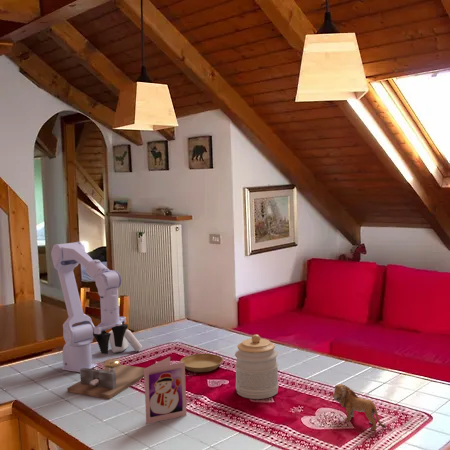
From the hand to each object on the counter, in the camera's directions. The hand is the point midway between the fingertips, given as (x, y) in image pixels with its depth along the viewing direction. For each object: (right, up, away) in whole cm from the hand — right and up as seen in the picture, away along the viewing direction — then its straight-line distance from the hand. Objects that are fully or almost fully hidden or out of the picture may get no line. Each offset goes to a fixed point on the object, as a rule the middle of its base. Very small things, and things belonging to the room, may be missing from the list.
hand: (111, 350), depth 181 cm
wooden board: (0, -10, 0) cm, 10 cm away
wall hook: (-1, -8, +33) cm, 33 cm away
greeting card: (+20, -12, -26) cm, 35 cm away
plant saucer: (+29, -9, +12) cm, 32 cm away
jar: (+46, -10, -11) cm, 49 cm away
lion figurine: (+71, -12, -34) cm, 80 cm away
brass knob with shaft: (-2, -9, -3) cm, 9 cm away
